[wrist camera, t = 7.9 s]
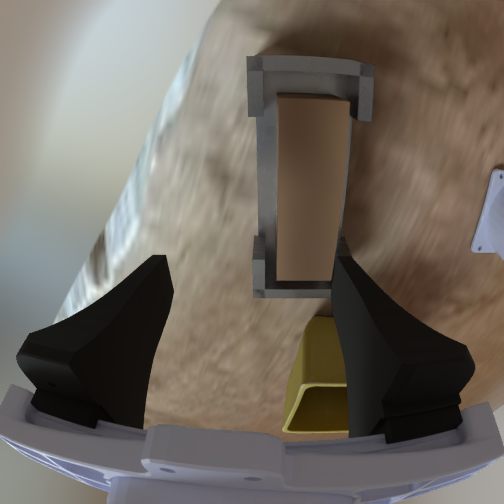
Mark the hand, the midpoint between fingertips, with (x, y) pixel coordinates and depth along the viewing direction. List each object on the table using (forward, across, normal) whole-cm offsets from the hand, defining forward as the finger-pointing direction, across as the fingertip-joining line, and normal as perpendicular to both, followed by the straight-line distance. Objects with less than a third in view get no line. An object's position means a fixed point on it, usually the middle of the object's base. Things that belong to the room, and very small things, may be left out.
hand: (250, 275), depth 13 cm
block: (+9, -3, -1) cm, 10 cm away
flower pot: (+10, -7, +15) cm, 19 cm away
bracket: (+10, -3, -1) cm, 10 cm away
